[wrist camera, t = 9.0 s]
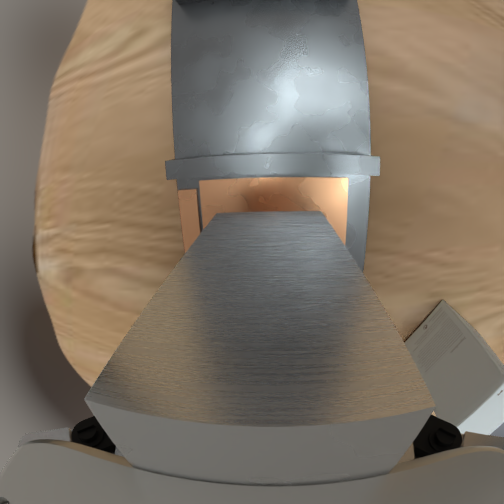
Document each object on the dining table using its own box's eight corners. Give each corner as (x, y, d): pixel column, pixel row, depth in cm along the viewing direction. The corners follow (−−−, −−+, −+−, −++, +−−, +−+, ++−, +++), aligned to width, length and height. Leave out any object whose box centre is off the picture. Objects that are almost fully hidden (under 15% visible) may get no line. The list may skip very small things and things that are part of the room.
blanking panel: (321, 211, 11) (436, 405, 2) (308, 380, 14) (320, 540, 5) (216, 212, 11) (84, 399, 3) (233, 380, 14) (206, 538, 6)
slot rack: (327, -91, 8) (332, -116, 4) (350, 325, 21) (362, 358, 17) (185, -85, 9) (172, -108, 5) (200, 326, 22) (188, 359, 18)
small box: (399, 343, 22) (442, 437, 12) (442, 296, 20) (507, 379, 10) (441, 369, 23) (478, 444, 13) (477, 330, 21) (528, 400, 11)
